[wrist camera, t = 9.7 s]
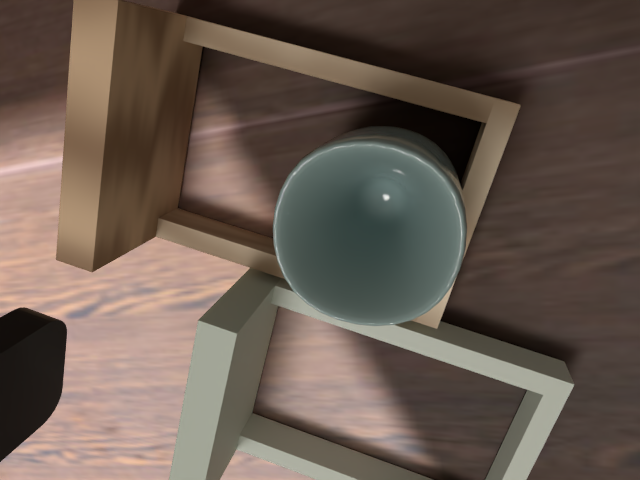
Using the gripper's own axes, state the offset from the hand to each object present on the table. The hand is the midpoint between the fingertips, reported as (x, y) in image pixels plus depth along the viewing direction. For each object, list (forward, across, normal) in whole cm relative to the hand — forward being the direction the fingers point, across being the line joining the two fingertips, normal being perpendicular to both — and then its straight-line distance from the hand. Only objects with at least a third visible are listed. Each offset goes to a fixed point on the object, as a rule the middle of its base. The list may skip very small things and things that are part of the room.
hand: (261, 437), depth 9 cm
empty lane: (+22, -4, +13) cm, 26 cm away
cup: (+22, 0, 0) cm, 22 cm away
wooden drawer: (+22, +4, 0) cm, 22 cm away
